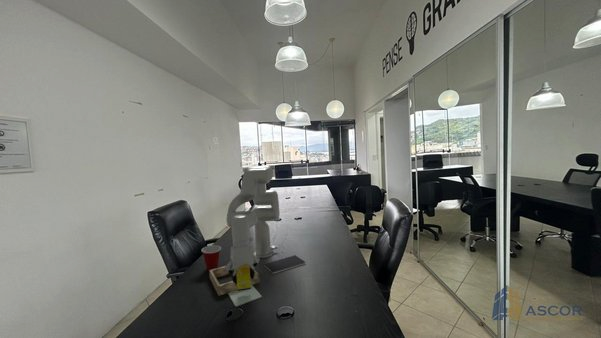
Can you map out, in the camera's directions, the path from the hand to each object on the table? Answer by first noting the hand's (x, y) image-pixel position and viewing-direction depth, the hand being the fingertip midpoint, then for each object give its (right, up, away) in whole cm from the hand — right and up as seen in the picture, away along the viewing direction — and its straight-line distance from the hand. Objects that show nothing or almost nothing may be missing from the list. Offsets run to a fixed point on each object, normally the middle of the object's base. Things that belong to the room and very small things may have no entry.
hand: (243, 279), depth 112 cm
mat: (0, -7, 0) cm, 7 cm away
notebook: (+17, -6, +31) cm, 35 cm away
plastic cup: (-25, -7, +30) cm, 40 cm away
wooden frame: (-9, -7, +15) cm, 19 cm away
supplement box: (0, -4, 0) cm, 4 cm away
